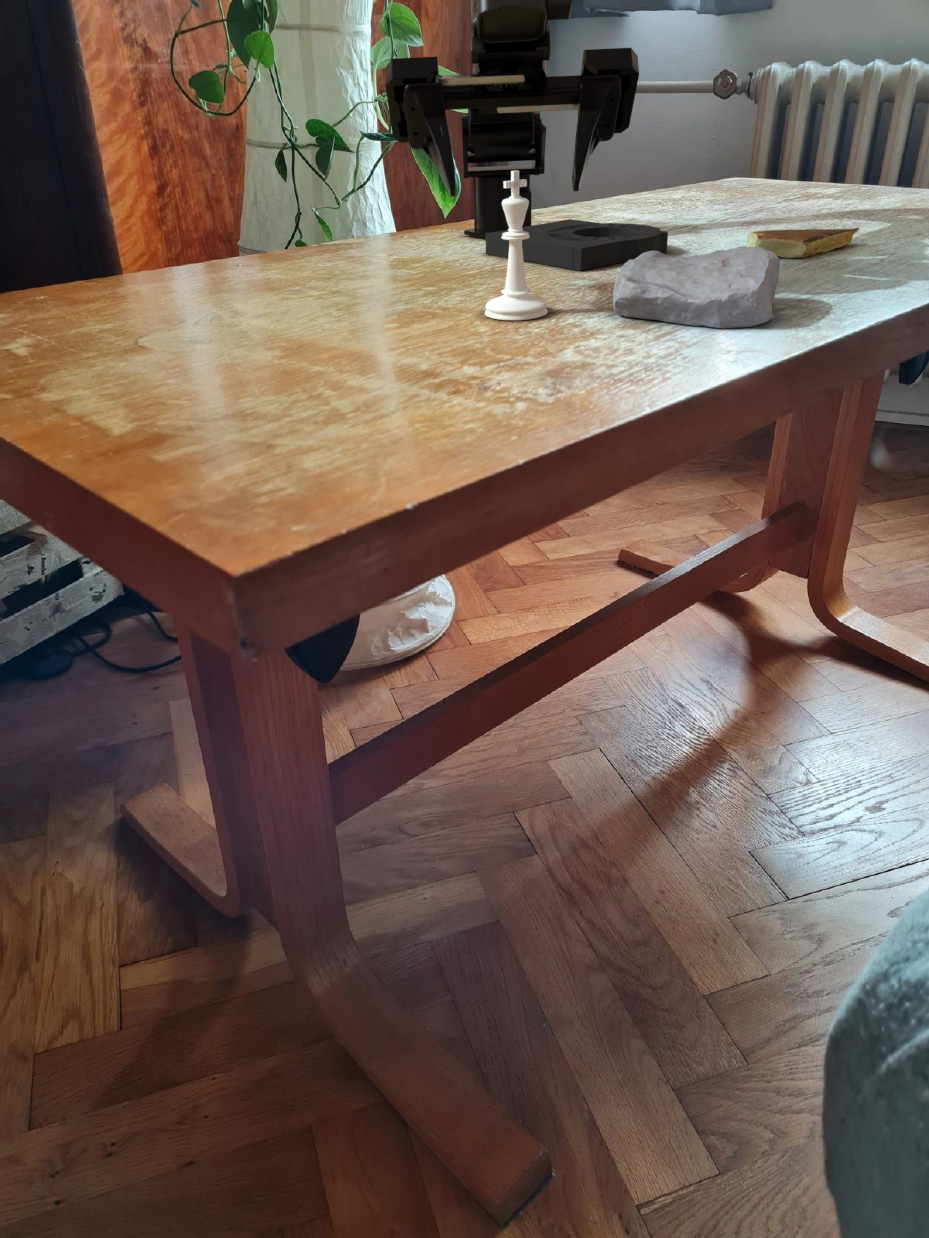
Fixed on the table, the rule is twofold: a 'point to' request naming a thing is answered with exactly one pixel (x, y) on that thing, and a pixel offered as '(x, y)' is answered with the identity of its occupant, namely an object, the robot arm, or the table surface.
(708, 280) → the stone block
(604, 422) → the table surface
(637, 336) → the table surface
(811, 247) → the yellow brown flat wedge
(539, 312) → the chess piece
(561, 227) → the socket pad
